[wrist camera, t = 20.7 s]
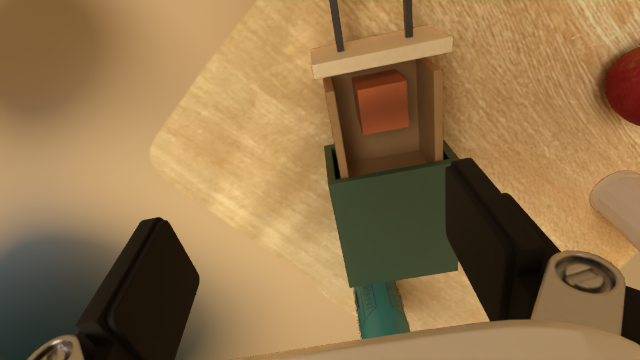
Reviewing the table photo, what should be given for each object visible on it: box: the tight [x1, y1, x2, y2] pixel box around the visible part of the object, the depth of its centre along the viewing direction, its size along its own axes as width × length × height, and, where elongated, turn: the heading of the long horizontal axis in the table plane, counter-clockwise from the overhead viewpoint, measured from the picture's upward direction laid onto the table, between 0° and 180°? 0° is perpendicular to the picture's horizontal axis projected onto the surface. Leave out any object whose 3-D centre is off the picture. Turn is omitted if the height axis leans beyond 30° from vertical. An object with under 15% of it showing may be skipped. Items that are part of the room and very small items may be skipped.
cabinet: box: [324, 140, 460, 288], centre depth 40 cm, size 15×13×9 cm
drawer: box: [310, 0, 453, 179], centre depth 32 cm, size 20×11×7 cm, turn 11°
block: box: [351, 69, 409, 135], centre depth 33 cm, size 4×4×4 cm
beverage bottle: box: [353, 281, 412, 339], centre depth 43 cm, size 6×7×20 cm
